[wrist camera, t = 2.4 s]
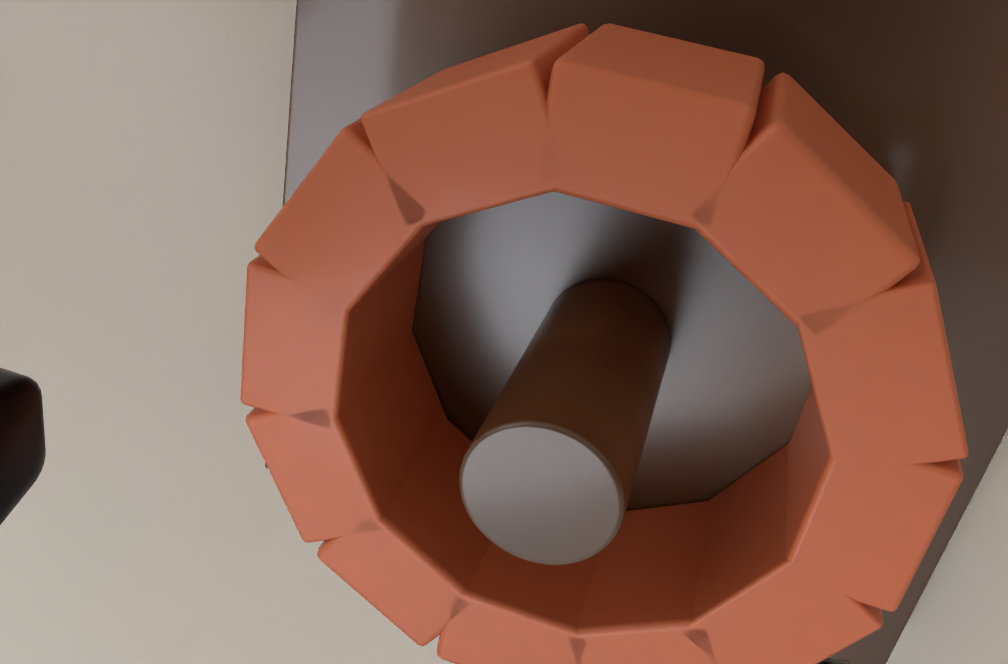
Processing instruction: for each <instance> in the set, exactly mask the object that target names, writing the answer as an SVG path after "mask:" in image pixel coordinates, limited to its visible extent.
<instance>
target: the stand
mask: <svg viewBox="0 0 1008 664" xmlns="http://www.w3.org/2000/svg"><path fill="white" fill-rule="evenodd" d="M580 23H581V24H585V25H586V26H587V28H588V31H589V34H591V33H593V32H594V31H595V30H597V29H598V28H599V27H601V26H602V25H604V24H609V23H611V24H615V25H619V26H623V27H628V28H632V29H636V30H641V31H645V32H649V33H653V34H658V35H662V36H666V37H670V38H675V39H679V40H683V41H688V42H692V43H696V44H700V45H705V46H709V47H713V48H718V49H722V50H726V51H730V52H735V53H739V54H743V55H747V56H752V57H756V58H759V59H760V60H762V61H763V62H764V66H765V71H764V76H763V81H762V86H761V89H762V88H763V87H764V86H765V85H766V84H767V83H768V82H769V81H770V80H771V79H772V78H773V77H774V76H775V75H778V74H780V73H782V72H783V73H785V74H788V75H790V76H791V77H792V78H793V79H794V80H795V81H796V82H797V83H798V84H799V85H800V86H801V87H802V88H803V89H804V90H805V91H806V92H807V93H808V94H809V95H810V96H811V97H812V98H813V99H814V100H815V101H816V102H817V103H818V104H819V105H820V106H821V107H822V108H823V109H824V110H825V111H826V112H827V113H828V114H829V115H830V116H831V117H832V118H833V119H834V120H835V121H836V122H837V123H838V124H839V125H840V126H841V127H842V128H843V129H844V130H845V131H846V132H847V133H848V134H849V135H850V136H851V137H852V138H853V139H854V140H855V141H856V142H857V143H858V144H859V145H860V146H861V147H862V148H863V149H864V150H865V151H866V152H867V153H868V154H869V155H870V156H871V157H872V158H873V159H874V160H875V161H876V162H877V163H878V164H879V165H880V166H881V167H882V168H883V169H884V170H885V171H886V172H887V173H888V174H889V175H890V176H892V177H893V178H894V179H895V180H896V182H897V185H898V188H899V191H900V195H901V198H902V201H906V202H909V203H910V205H911V208H912V211H913V214H914V217H915V220H916V223H917V226H918V229H919V232H920V236H921V239H922V242H923V245H924V248H925V251H926V254H927V257H928V260H929V264H930V267H931V270H932V273H933V276H934V279H935V282H936V285H937V290H938V295H939V301H940V306H941V311H942V316H943V321H944V327H945V332H946V337H947V342H948V347H949V352H950V358H951V363H952V368H953V373H954V378H955V384H956V389H957V394H958V399H959V404H960V409H961V415H962V420H963V425H964V430H965V435H966V440H967V446H968V451H969V453H968V456H967V457H966V458H964V459H960V463H961V466H962V470H963V480H962V482H961V484H960V486H959V488H958V490H957V492H956V494H955V496H954V498H953V500H952V502H951V504H950V506H949V508H948V510H947V512H946V514H945V516H944V518H943V520H942V522H941V524H940V526H939V528H938V530H937V532H936V534H935V535H934V537H933V539H932V541H931V543H930V545H929V547H928V549H927V551H926V553H925V555H924V557H923V559H922V561H921V563H920V565H919V567H918V569H917V571H916V573H915V575H914V577H913V579H912V581H911V583H910V585H909V587H908V589H907V591H906V593H905V595H904V597H903V599H902V601H901V603H900V605H899V606H898V608H897V609H896V610H895V611H894V612H889V611H886V610H883V609H882V619H883V625H882V627H881V628H880V629H878V630H876V631H875V632H873V633H871V634H869V635H867V636H866V637H864V638H862V639H860V640H858V641H857V642H855V643H853V644H851V645H849V646H848V647H846V648H844V649H842V650H841V651H839V652H837V653H835V654H833V655H832V656H831V657H834V658H837V659H840V660H843V661H846V662H849V663H852V664H886V662H887V660H888V658H889V656H890V654H891V652H892V650H893V649H894V647H895V645H896V643H897V641H898V639H899V637H900V635H901V633H902V631H903V629H904V627H905V625H906V623H907V622H908V620H909V618H910V616H911V614H912V612H913V610H914V608H915V606H916V604H917V602H918V600H919V598H920V596H921V595H922V593H923V591H924V589H925V587H926V585H927V583H928V581H929V579H930V577H931V575H932V573H933V571H934V569H935V568H936V566H937V564H938V562H939V560H940V558H941V556H942V554H943V552H944V550H945V548H946V546H947V544H948V542H949V540H950V539H951V537H952V535H953V533H954V531H955V529H956V527H957V525H958V523H959V521H960V519H961V517H962V515H963V513H964V512H965V510H966V508H967V506H968V504H969V502H970V500H971V498H972V496H973V494H974V492H975V490H976V488H977V486H978V485H979V483H980V481H981V479H982V477H983V475H984V473H985V471H986V469H987V467H988V465H989V463H990V461H991V459H992V458H993V456H994V454H995V452H996V450H997V448H998V446H999V444H1000V442H1001V440H1002V438H1003V436H1004V434H1005V432H1006V431H1007V429H1008V0H297V5H296V20H295V35H294V50H293V64H292V79H291V94H290V108H289V123H288V138H287V152H286V167H285V182H284V196H283V206H284V205H285V204H286V202H287V201H288V200H289V198H290V197H291V196H292V194H293V193H294V192H295V190H296V189H297V188H298V186H299V185H300V184H301V183H302V181H303V180H304V179H305V177H306V176H307V175H308V173H309V172H310V171H311V169H312V168H313V167H314V165H315V164H316V163H317V161H318V160H319V159H320V157H321V156H322V155H323V153H324V152H325V151H326V149H327V148H328V147H329V145H330V144H331V143H332V141H333V140H334V139H335V138H336V136H337V135H338V134H339V132H340V131H341V130H342V128H344V127H346V126H348V125H349V124H351V123H353V122H355V121H357V120H359V119H360V118H361V116H362V115H363V114H364V113H365V112H366V111H368V110H370V109H372V108H374V107H375V106H377V105H379V104H381V103H383V102H385V101H386V100H388V99H390V98H392V97H394V96H396V95H397V94H399V93H401V92H403V91H405V90H407V89H408V88H410V87H412V86H414V85H416V84H418V83H419V82H421V81H423V80H425V79H427V78H429V77H430V76H432V75H434V74H436V73H438V72H440V71H441V70H443V69H446V68H449V67H452V66H455V65H458V64H461V63H464V62H467V61H470V60H473V59H476V58H479V57H482V56H485V55H488V54H491V53H494V52H497V51H500V50H502V49H505V48H508V47H511V46H514V45H517V44H520V43H523V42H526V41H529V40H532V39H535V38H538V37H541V36H544V35H547V34H550V33H553V32H556V31H559V30H562V29H565V28H568V27H571V26H574V25H577V24H580ZM412 332H413V335H414V337H415V340H416V342H417V345H418V347H419V350H420V352H421V355H422V357H423V360H424V362H425V365H426V367H427V370H428V372H429V375H430V377H431V380H432V382H433V385H434V387H435V390H436V392H437V395H438V397H439V400H440V402H441V405H442V407H443V410H444V412H445V415H446V417H447V419H448V420H449V421H450V422H451V423H453V424H454V425H455V426H456V427H457V428H458V429H459V430H460V431H461V432H463V433H464V434H465V435H466V436H467V437H468V438H469V439H470V440H471V441H472V443H471V444H470V446H469V448H468V449H467V451H466V453H465V455H464V458H463V460H462V464H461V467H460V475H459V482H460V491H461V497H462V500H463V503H464V506H465V508H466V510H467V513H468V515H469V516H470V518H471V519H472V521H473V523H474V524H475V525H476V526H477V528H478V529H479V530H480V531H481V532H482V533H483V534H484V535H485V536H486V537H487V538H488V539H489V540H490V541H491V542H493V543H494V544H495V545H497V546H498V547H500V548H501V549H503V550H504V551H506V552H508V553H510V554H512V555H514V556H516V557H519V558H521V559H524V560H528V561H531V562H535V563H541V564H550V565H561V564H570V563H575V562H579V561H582V560H585V559H587V558H589V557H592V556H593V555H595V554H597V553H598V552H600V551H601V550H603V549H604V548H605V547H606V546H607V545H608V544H609V543H610V542H611V541H612V540H613V539H614V538H615V536H616V535H617V533H618V531H619V530H620V527H621V525H622V522H623V519H624V516H625V512H626V511H630V510H638V509H646V508H654V507H662V506H670V505H678V504H686V503H694V502H702V501H709V500H710V499H711V498H713V497H714V496H716V495H717V494H718V493H720V492H721V491H723V490H724V489H725V488H727V487H728V486H730V485H731V484H732V483H734V482H735V481H737V480H738V479H739V478H741V477H742V476H743V475H745V474H746V473H748V472H749V471H750V470H752V469H753V468H755V467H756V466H757V465H759V464H760V463H762V462H763V461H764V460H766V459H767V458H769V457H770V456H771V455H773V454H774V453H776V452H777V451H778V450H780V449H781V448H783V447H784V446H785V445H787V444H788V443H789V442H790V440H791V437H792V434H793V432H794V429H795V427H796V424H797V422H798V419H799V416H800V414H801V411H802V409H803V406H804V404H805V401H806V398H807V396H808V393H809V391H810V388H811V386H812V383H811V379H810V375H809V371H808V367H807V363H806V359H805V355H804V351H803V347H802V343H801V339H800V335H799V331H798V327H797V326H795V325H794V324H793V323H792V322H791V321H790V320H789V319H788V318H787V317H786V316H785V315H784V314H783V313H782V312H781V311H780V310H779V309H778V308H777V307H776V306H775V305H774V304H773V303H771V302H770V301H769V300H768V299H767V298H766V297H765V296H764V295H763V294H762V293H761V292H760V291H759V290H758V289H757V288H756V287H755V286H754V285H753V284H752V283H751V282H750V281H748V280H747V279H746V278H745V277H744V276H743V275H742V274H741V273H740V272H739V271H738V270H737V269H736V268H735V267H734V266H733V265H732V264H731V263H730V262H729V261H728V260H727V259H726V258H724V257H723V256H722V255H721V254H720V253H719V252H718V251H717V250H716V249H715V248H714V247H713V246H712V245H711V244H710V243H709V242H708V241H707V240H706V239H705V238H704V237H703V236H701V235H700V234H699V233H698V232H697V231H696V230H695V229H694V228H690V227H686V226H682V225H679V224H675V223H671V222H667V221H664V220H660V219H656V218H652V217H649V216H645V215H641V214H637V213H634V212H630V211H626V210H622V209H619V208H615V207H611V206H607V205H604V204H600V203H596V202H592V201H589V200H585V199H581V198H577V197H574V196H570V195H566V194H562V193H559V192H555V191H553V192H550V193H546V194H542V195H538V196H535V197H531V198H527V199H523V200H520V201H516V202H512V203H508V204H505V205H501V206H497V207H493V208H490V209H486V210H482V211H478V212H475V213H471V214H467V215H463V216H460V217H456V218H452V219H448V220H445V221H441V222H439V224H438V225H437V226H436V227H435V228H434V229H433V230H432V231H431V233H430V234H429V235H428V236H427V237H426V238H425V245H424V252H423V259H422V265H421V272H420V279H419V286H418V293H417V299H416V306H415V313H414V320H413V327H412ZM265 467H266V468H268V467H267V464H266V462H265Z"/></svg>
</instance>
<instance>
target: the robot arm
mask: <svg viewBox="0 0 1008 664" xmlns="http://www.w3.org/2000/svg"><path fill="white" fill-rule="evenodd" d="M45 452H46V450H45V435H44V421H43V406H42V394H41V390H40V388H39V386H38V384H37V383H36V382H35V381H34V380H33V379H31V378H29V377H27V376H24V375H21V374H18V373H15V372H12V371H9V370H6V369H3V368H0V525H1V523H2V522H3V521H4V520H5V518H6V517H7V516H8V515H9V513H10V512H11V511H12V510H13V509H14V507H15V506H16V505H17V504H18V502H19V501H20V500H21V499H22V497H23V496H24V495H25V494H26V492H27V491H28V490H29V489H30V487H31V486H32V485H33V484H34V482H35V481H36V479H37V478H38V476H39V474H40V472H41V470H42V467H43V465H44V460H45Z"/></svg>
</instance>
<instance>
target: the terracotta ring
mask: <svg viewBox="0 0 1008 664" xmlns="http://www.w3.org/2000/svg"><path fill="white" fill-rule="evenodd" d="M764 71H765V66H764V62H763V61H762V60H760V59H759V58H756V57H752V56H747V55H743V54H739V53H735V52H730V51H726V50H722V49H718V48H713V47H709V46H705V45H700V44H696V43H692V42H688V41H683V40H679V39H675V38H670V37H666V36H662V35H658V34H653V33H649V32H645V31H641V30H636V29H632V28H628V27H623V26H619V25H615V24H611V23H609V24H604V25H602V26H601V27H599V28H598V29H597V30H595V31H594V32H593V33H591V34H589V31H588V28H587V26H586V25H585V24H581V23H580V24H577V25H574V26H571V27H568V28H565V29H562V30H559V31H556V32H553V33H550V34H547V35H544V36H541V37H538V38H535V39H532V40H529V41H526V42H523V43H520V44H517V45H514V46H511V47H508V48H505V49H502V50H500V51H497V52H494V53H491V54H488V55H485V56H482V57H479V58H476V59H473V60H470V61H467V62H464V63H461V64H458V65H455V66H452V67H449V68H446V69H443V70H441V71H440V72H438V73H436V74H434V75H432V76H430V77H429V78H427V79H425V80H423V81H421V82H419V83H418V84H416V85H414V86H412V87H410V88H408V89H407V90H405V91H403V92H401V93H399V94H397V95H396V96H394V97H392V98H390V99H388V100H386V101H385V102H383V103H381V104H379V105H377V106H375V107H374V108H372V109H370V110H368V111H366V112H365V113H364V114H363V115H362V116H361V118H360V119H359V120H357V121H355V122H353V123H351V124H349V125H348V126H346V127H344V128H342V130H341V131H340V132H339V134H338V135H337V136H336V138H335V139H334V140H333V141H332V143H331V144H330V145H329V147H328V148H327V149H326V151H325V152H324V153H323V155H322V156H321V157H320V159H319V160H318V161H317V163H316V164H315V165H314V167H313V168H312V169H311V171H310V172H309V173H308V175H307V176H306V177H305V179H304V180H303V181H302V183H301V184H300V185H299V186H298V188H297V189H296V190H295V192H294V193H293V194H292V196H291V197H290V198H289V200H288V201H287V202H286V204H285V205H284V206H283V208H282V209H281V210H280V212H279V213H278V214H277V216H276V217H275V218H274V220H273V221H272V222H271V224H270V225H269V226H268V228H267V229H266V230H265V232H264V233H263V234H262V235H261V237H260V238H259V239H258V241H257V242H256V244H255V250H256V252H258V253H259V254H260V255H259V256H258V257H257V258H255V259H254V260H252V261H251V262H250V263H249V265H248V267H247V284H246V304H245V323H244V343H243V363H242V383H241V402H242V403H243V404H246V405H249V406H252V407H255V408H254V409H253V410H252V411H251V412H250V413H249V414H248V415H247V416H246V423H247V425H248V427H249V429H250V431H251V433H252V435H253V437H254V440H255V442H256V444H257V446H258V448H259V450H260V452H261V454H262V456H263V458H264V460H265V462H266V464H267V467H268V469H269V471H270V473H271V475H272V477H273V479H274V481H275V483H276V485H277V487H278V489H279V492H280V494H281V496H282V498H283V500H284V502H285V504H286V506H287V508H288V510H289V512H290V514H291V516H292V519H293V521H294V523H295V525H296V527H297V529H298V531H299V533H300V535H301V537H302V539H303V540H304V541H305V542H316V541H323V540H324V542H323V543H322V545H321V546H320V547H319V550H318V554H317V556H318V557H319V559H320V560H321V561H322V562H323V563H324V564H326V565H327V566H328V567H329V568H330V569H331V570H332V571H334V572H335V573H336V574H337V575H338V576H339V577H341V578H342V579H343V580H344V581H345V582H346V583H347V584H349V585H350V586H351V587H352V588H353V589H354V590H356V591H357V592H358V593H359V594H360V595H361V596H363V597H364V598H365V599H366V600H367V601H368V602H369V603H371V604H372V605H373V606H374V607H375V608H376V609H378V610H379V611H380V612H381V613H382V614H383V615H384V616H386V617H387V618H388V619H389V620H390V621H391V622H393V623H394V624H395V625H396V626H397V627H398V628H399V629H401V630H402V631H403V632H404V633H405V634H406V635H408V636H409V637H410V638H411V639H412V640H413V641H414V642H416V643H417V644H418V645H421V646H424V645H426V644H428V643H429V642H430V641H432V640H433V639H434V638H436V637H437V636H438V635H440V637H439V642H438V647H437V653H438V656H439V657H440V658H441V659H444V660H447V661H450V662H452V663H455V664H817V663H819V662H821V661H823V660H824V659H826V658H828V657H830V656H832V655H833V654H835V653H837V652H839V651H841V650H842V649H844V648H846V647H848V646H849V645H851V644H853V643H855V642H857V641H858V640H860V639H862V638H864V637H866V636H867V635H869V634H871V633H873V632H875V631H876V630H878V629H880V628H881V627H882V625H883V619H882V609H883V610H886V611H889V612H894V611H895V610H896V609H897V608H898V606H899V605H900V603H901V601H902V599H903V597H904V595H905V593H906V591H907V589H908V587H909V585H910V583H911V581H912V579H913V577H914V575H915V573H916V571H917V569H918V567H919V565H920V563H921V561H922V559H923V557H924V555H925V553H926V551H927V549H928V547H929V545H930V543H931V541H932V539H933V537H934V535H935V534H936V532H937V530H938V528H939V526H940V524H941V522H942V520H943V518H944V516H945V514H946V512H947V510H948V508H949V506H950V504H951V502H952V500H953V498H954V496H955V494H956V492H957V490H958V488H959V486H960V484H961V482H962V480H963V470H962V466H961V463H960V459H964V458H966V457H967V456H968V453H969V451H968V446H967V440H966V435H965V430H964V425H963V420H962V415H961V409H960V404H959V399H958V394H957V389H956V384H955V378H954V373H953V368H952V363H951V358H950V352H949V347H948V342H947V337H946V332H945V327H944V321H943V316H942V311H941V306H940V301H939V295H938V290H937V285H936V282H935V279H934V276H933V273H932V270H931V267H930V264H929V260H928V257H927V254H926V251H925V248H924V245H923V242H922V239H921V236H920V232H919V229H918V226H917V223H916V220H915V217H914V214H913V211H912V208H911V205H910V203H909V202H906V201H902V198H901V195H900V191H899V188H898V185H897V182H896V180H895V179H894V178H893V177H892V176H890V175H889V174H888V173H887V172H886V171H885V170H884V169H883V168H882V167H881V166H880V165H879V164H878V163H877V162H876V161H875V160H874V159H873V158H872V157H871V156H870V155H869V154H868V153H867V152H866V151H865V150H864V149H863V148H862V147H861V146H860V145H859V144H858V143H857V142H856V141H855V140H854V139H853V138H852V137H851V136H850V135H849V134H848V133H847V132H846V131H845V130H844V129H843V128H842V127H841V126H840V125H839V124H838V123H837V122H836V121H835V120H834V119H833V118H832V117H831V116H830V115H829V114H828V113H827V112H826V111H825V110H824V109H823V108H822V107H821V106H820V105H819V104H818V103H817V102H816V101H815V100H814V99H813V98H812V97H811V96H810V95H809V94H808V93H807V92H806V91H805V90H804V89H803V88H802V87H801V86H800V85H799V84H798V83H797V82H796V81H795V80H794V79H793V78H792V77H791V76H790V75H788V74H785V73H783V72H782V73H780V74H778V75H775V76H774V77H773V78H772V79H771V80H770V81H769V82H768V83H767V84H766V85H765V86H764V87H763V88H762V89H761V86H762V81H763V76H764ZM553 191H555V192H559V193H562V194H566V195H570V196H574V197H577V198H581V199H585V200H589V201H592V202H596V203H600V204H604V205H607V206H611V207H615V208H619V209H622V210H626V211H630V212H634V213H637V214H641V215H645V216H649V217H652V218H656V219H660V220H664V221H667V222H671V223H675V224H679V225H682V226H686V227H690V228H694V229H695V230H696V231H697V232H698V233H699V234H700V235H701V236H703V237H704V238H705V239H706V240H707V241H708V242H709V243H710V244H711V245H712V246H713V247H714V248H715V249H716V250H717V251H718V252H719V253H720V254H721V255H722V256H723V257H724V258H726V259H727V260H728V261H729V262H730V263H731V264H732V265H733V266H734V267H735V268H736V269H737V270H738V271H739V272H740V273H741V274H742V275H743V276H744V277H745V278H746V279H747V280H748V281H750V282H751V283H752V284H753V285H754V286H755V287H756V288H757V289H758V290H759V291H760V292H761V293H762V294H763V295H764V296H765V297H766V298H767V299H768V300H769V301H770V302H771V303H773V304H774V305H775V306H776V307H777V308H778V309H779V310H780V311H781V312H782V313H783V314H784V315H785V316H786V317H787V318H788V319H789V320H790V321H791V322H792V323H793V324H794V325H795V326H797V327H798V331H799V335H800V339H801V343H802V347H803V351H804V355H805V359H806V363H807V367H808V371H809V375H810V379H811V383H812V386H811V388H810V391H809V393H808V396H807V398H806V401H805V404H804V406H803V409H802V411H801V414H800V416H799V419H798V422H797V424H796V427H795V429H794V432H793V434H792V437H791V440H790V442H789V443H788V444H787V445H785V446H784V447H783V448H781V449H780V450H778V451H777V452H776V453H774V454H773V455H771V456H770V457H769V458H767V459H766V460H764V461H763V462H762V463H760V464H759V465H757V466H756V467H755V468H753V469H752V470H750V471H749V472H748V473H746V474H745V475H743V476H742V477H741V478H739V479H738V480H737V481H735V482H734V483H732V484H731V485H730V486H728V487H727V488H725V489H724V490H723V491H721V492H720V493H718V494H717V495H716V496H714V497H713V498H711V499H710V500H709V501H702V502H694V503H686V504H678V505H670V506H662V507H654V508H646V509H638V510H630V511H626V512H625V516H624V519H623V522H622V525H621V527H620V530H619V531H618V533H617V535H616V536H615V538H614V539H613V540H612V541H611V542H610V543H609V544H608V545H607V546H606V547H605V548H604V549H603V550H601V551H600V552H598V553H597V554H595V555H593V556H592V557H589V558H587V559H585V560H582V561H579V562H575V563H570V564H561V565H550V564H541V563H535V562H531V561H528V560H524V559H521V558H519V557H516V556H514V555H512V554H510V553H508V552H506V551H504V550H503V549H501V548H500V547H498V546H497V545H495V544H494V543H493V542H491V541H490V540H489V539H488V538H487V537H486V536H485V535H484V534H483V533H482V532H481V531H480V530H479V529H478V528H477V526H476V525H475V524H474V523H473V521H472V519H471V518H470V516H469V515H468V513H467V510H466V508H465V506H464V503H463V500H462V497H461V491H460V482H459V475H460V467H461V464H462V460H463V458H464V455H465V453H466V451H467V449H468V448H469V446H470V444H471V443H472V441H471V440H470V439H469V438H468V437H467V436H466V435H465V434H464V433H463V432H461V431H460V430H459V429H458V428H457V427H456V426H455V425H454V424H453V423H451V422H450V421H449V420H448V419H447V417H446V415H445V412H444V410H443V407H442V405H441V402H440V400H439V397H438V395H437V392H436V390H435V387H434V385H433V382H432V380H431V377H430V375H429V372H428V370H427V367H426V365H425V362H424V360H423V357H422V355H421V352H420V350H419V347H418V345H417V342H416V340H415V337H414V335H413V332H412V327H413V320H414V313H415V306H416V299H417V293H418V286H419V279H420V272H421V265H422V259H423V252H424V245H425V238H426V237H427V236H428V235H429V234H430V233H431V231H432V230H433V229H434V228H435V227H436V226H437V225H438V224H439V222H441V221H445V220H448V219H452V218H456V217H460V216H463V215H467V214H471V213H475V212H478V211H482V210H486V209H490V208H493V207H497V206H501V205H505V204H508V203H512V202H516V201H520V200H523V199H527V198H531V197H535V196H538V195H542V194H546V193H550V192H553Z"/></svg>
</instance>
